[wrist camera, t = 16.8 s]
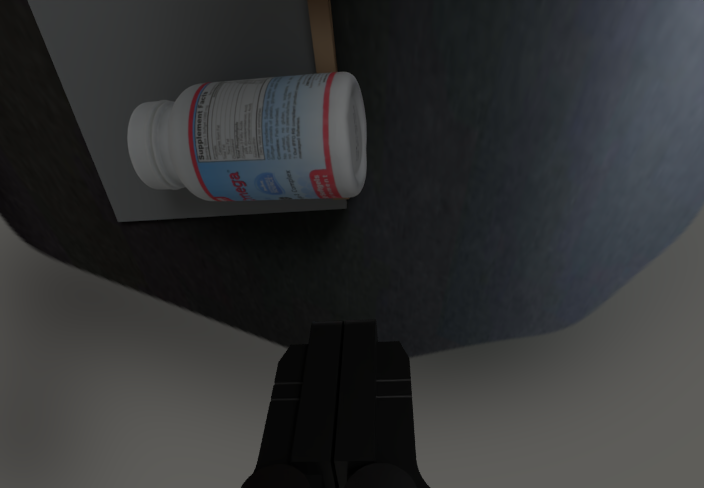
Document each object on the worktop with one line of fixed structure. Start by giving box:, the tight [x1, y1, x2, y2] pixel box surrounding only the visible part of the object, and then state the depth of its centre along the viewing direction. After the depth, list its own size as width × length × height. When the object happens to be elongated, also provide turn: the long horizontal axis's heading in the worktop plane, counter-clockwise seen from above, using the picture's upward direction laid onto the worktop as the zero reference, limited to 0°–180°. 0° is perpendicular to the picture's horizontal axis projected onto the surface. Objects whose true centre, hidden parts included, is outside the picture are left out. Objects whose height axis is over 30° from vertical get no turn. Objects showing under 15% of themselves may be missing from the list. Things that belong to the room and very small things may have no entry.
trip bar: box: [307, 0, 349, 200], centre depth 28 cm, size 12×1×1 cm, turn 5°
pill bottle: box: [127, 72, 367, 201], centre depth 26 cm, size 6×6×11 cm
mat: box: [28, 0, 347, 222], centre depth 29 cm, size 14×15×1 cm
